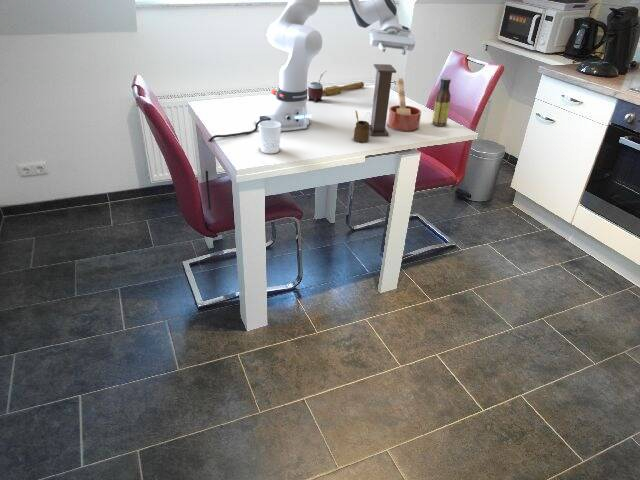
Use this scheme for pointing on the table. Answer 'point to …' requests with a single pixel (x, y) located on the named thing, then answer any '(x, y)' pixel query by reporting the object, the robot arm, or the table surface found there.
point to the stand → (381, 99)
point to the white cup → (269, 136)
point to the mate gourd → (315, 90)
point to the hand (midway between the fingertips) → (393, 52)
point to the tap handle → (341, 88)
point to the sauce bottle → (442, 103)
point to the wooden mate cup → (361, 130)
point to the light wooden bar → (402, 99)
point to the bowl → (404, 119)
